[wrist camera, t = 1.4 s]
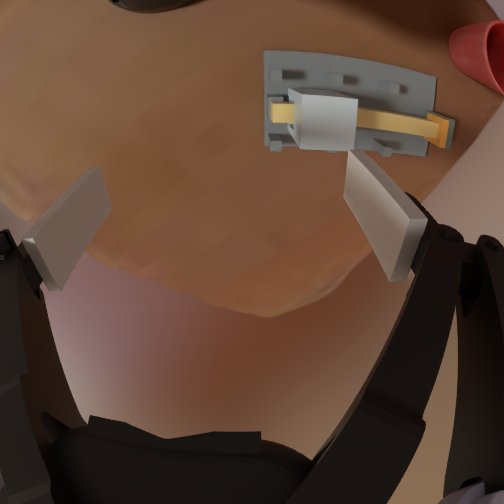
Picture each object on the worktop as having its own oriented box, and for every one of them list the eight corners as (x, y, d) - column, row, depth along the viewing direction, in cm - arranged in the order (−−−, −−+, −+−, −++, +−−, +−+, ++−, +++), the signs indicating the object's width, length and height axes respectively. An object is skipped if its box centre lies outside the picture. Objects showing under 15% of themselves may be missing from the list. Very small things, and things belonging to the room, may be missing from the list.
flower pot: (464, 98, 28) (508, 115, 20) (427, 36, 23) (473, 37, 15) (496, 68, 23) (539, 80, 15) (463, 9, 19) (508, 9, 11)
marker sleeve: (288, 87, 27) (302, 94, 21) (331, 90, 27) (358, 99, 21) (287, 129, 30) (300, 149, 24) (329, 131, 30) (353, 151, 24)
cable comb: (263, 50, 26) (267, 46, 21) (432, 76, 27) (463, 84, 21) (264, 144, 34) (268, 161, 28) (422, 154, 34) (448, 173, 28)
